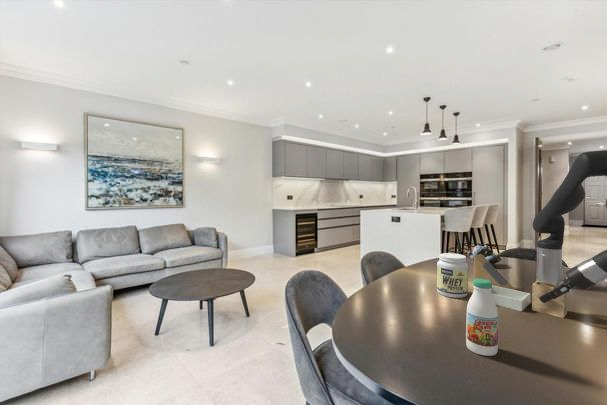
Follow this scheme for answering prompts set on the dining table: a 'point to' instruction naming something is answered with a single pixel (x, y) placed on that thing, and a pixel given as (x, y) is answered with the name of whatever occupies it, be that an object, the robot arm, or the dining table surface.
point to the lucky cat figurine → (484, 253)
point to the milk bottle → (482, 320)
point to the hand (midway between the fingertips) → (543, 298)
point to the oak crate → (552, 306)
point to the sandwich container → (489, 272)
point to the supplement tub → (452, 275)
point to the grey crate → (510, 298)
